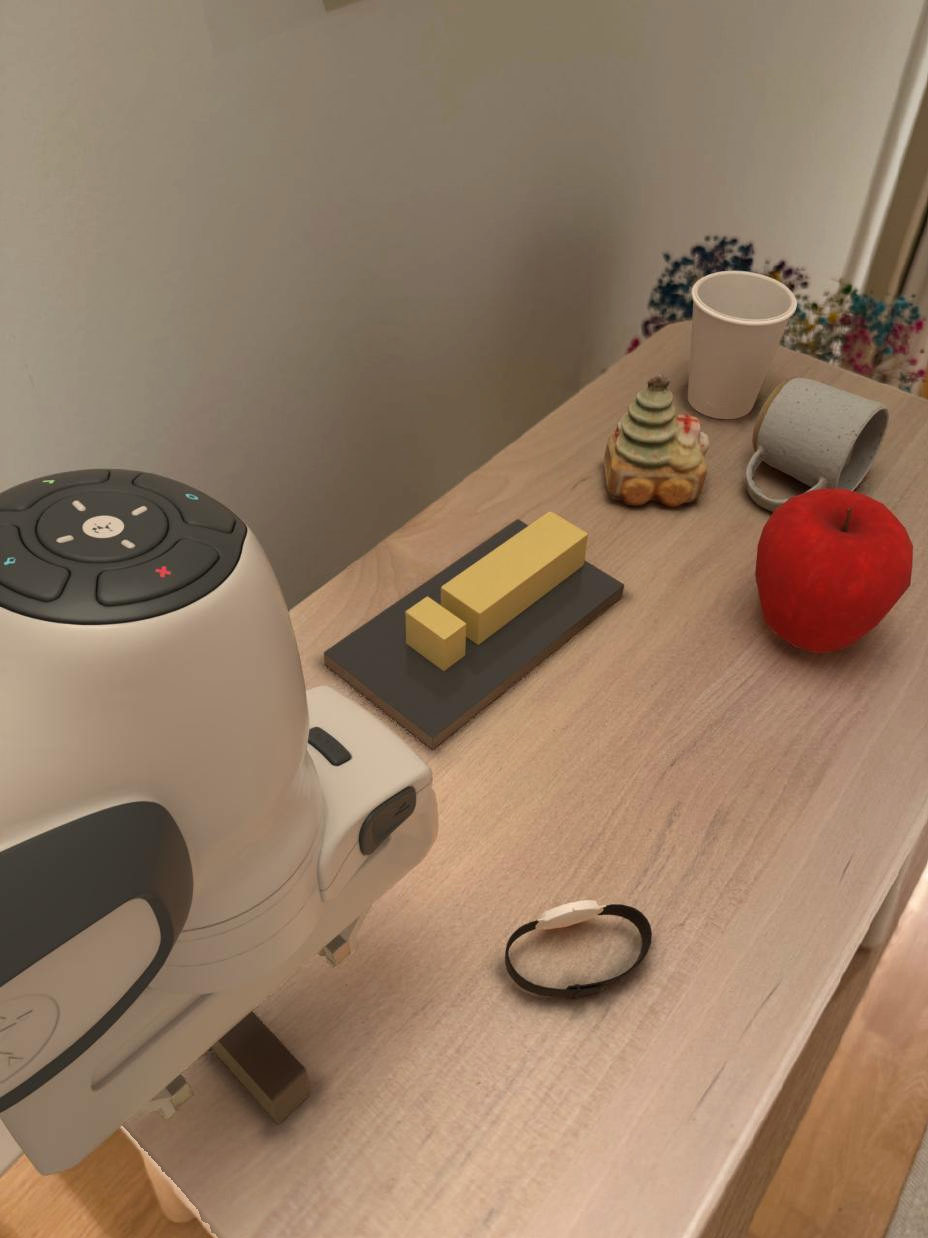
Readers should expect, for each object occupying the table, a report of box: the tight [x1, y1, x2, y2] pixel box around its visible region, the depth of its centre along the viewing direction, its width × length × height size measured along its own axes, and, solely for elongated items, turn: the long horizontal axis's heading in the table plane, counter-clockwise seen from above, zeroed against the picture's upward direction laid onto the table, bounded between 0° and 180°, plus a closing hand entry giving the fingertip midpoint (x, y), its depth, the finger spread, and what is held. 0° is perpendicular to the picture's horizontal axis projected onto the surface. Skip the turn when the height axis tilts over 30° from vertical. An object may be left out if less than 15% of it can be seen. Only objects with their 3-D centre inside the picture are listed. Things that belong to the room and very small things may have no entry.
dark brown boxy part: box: [210, 1010, 312, 1125], centre depth 52 cm, size 2×12×3 cm, turn 46°
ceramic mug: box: [745, 376, 890, 513], centre depth 82 cm, size 11×8×8 cm
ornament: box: [603, 374, 711, 508], centre depth 80 cm, size 8×6×10 cm
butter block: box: [441, 510, 589, 645], centre depth 72 cm, size 11×4×3 cm, turn 136°
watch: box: [504, 899, 653, 999], centre depth 54 cm, size 8×5×4 cm, turn 104°
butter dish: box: [323, 518, 625, 750], centre depth 72 cm, size 19×10×1 cm, turn 136°
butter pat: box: [405, 596, 466, 671], centre depth 68 cm, size 2×4×3 cm, turn 46°
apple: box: [754, 489, 914, 654], centre depth 69 cm, size 10×10×11 cm
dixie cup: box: [687, 270, 798, 420], centre depth 89 cm, size 8×8×10 cm
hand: (256, 1018), depth 48 cm, fingers open, 8 cm apart
